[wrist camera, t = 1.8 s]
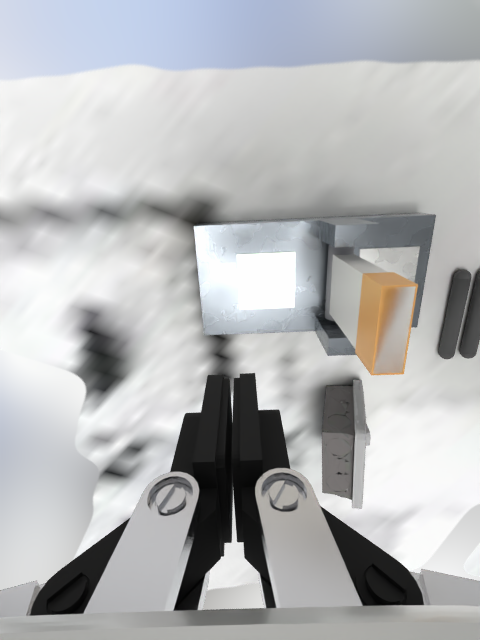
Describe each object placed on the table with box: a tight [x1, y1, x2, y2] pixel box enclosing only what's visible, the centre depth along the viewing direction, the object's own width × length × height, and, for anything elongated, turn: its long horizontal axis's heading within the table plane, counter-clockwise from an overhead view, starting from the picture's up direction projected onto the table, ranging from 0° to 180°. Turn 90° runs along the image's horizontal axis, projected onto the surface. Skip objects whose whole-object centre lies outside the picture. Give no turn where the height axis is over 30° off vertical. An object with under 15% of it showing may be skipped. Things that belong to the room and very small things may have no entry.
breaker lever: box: [325, 245, 418, 375], centre depth 22 cm, size 2×6×12 cm, turn 3°
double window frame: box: [194, 213, 436, 356], centre depth 27 cm, size 20×10×8 cm, turn 93°
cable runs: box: [439, 270, 480, 359], centre depth 32 cm, size 4×9×1 cm, turn 3°
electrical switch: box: [322, 379, 370, 509], centre depth 33 cm, size 9×5×9 cm, turn 6°
